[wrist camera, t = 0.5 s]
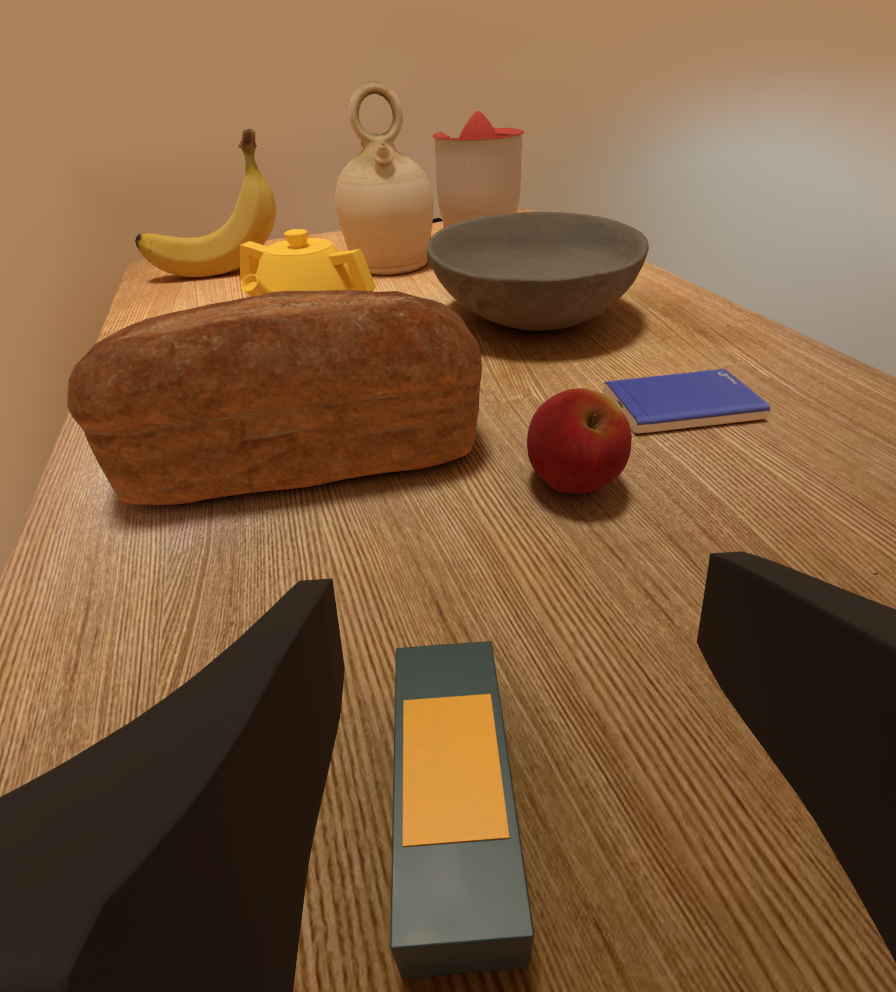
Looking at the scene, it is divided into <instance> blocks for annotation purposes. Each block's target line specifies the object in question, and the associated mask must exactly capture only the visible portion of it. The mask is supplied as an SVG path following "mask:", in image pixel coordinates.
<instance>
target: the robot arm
mask: <svg viewBox="0 0 896 992" xmlns="http://www.w3.org/2000/svg"><path fill="white" fill-rule="evenodd" d="M697 644H698V646H699V648H700V650H701V652H702V654H703V656H704V658H705V660H706V662H707V664H708V666H709V668H710V670H711V671H712V673H713V675H714V677H715V679H716V680H717V682H718V684H719V686H720V688H721V689H722V691H723V692H724V694H725V695H726V696H727V698H728V699H729V701H730V702H731V704H732V705H733V706H734V708H735V709H736V711H737V712H738V713H739V715H740V716H741V718H742V719H743V720H744V722H745V723H746V725H747V726H748V727H749V729H750V730H751V732H752V733H753V734H754V736H755V737H756V738H757V740H758V741H759V742H760V744H761V745H762V747H763V748H764V749H765V751H766V752H767V753H768V755H769V756H770V758H771V759H772V760H773V762H774V763H775V764H776V766H777V767H778V769H779V770H780V771H781V773H782V774H783V775H784V777H785V778H786V780H787V781H788V782H789V784H790V785H791V786H792V788H793V789H794V791H795V792H796V793H797V795H798V796H799V798H800V799H801V801H802V802H803V804H804V805H805V807H806V808H807V810H808V811H809V813H810V814H811V816H812V817H813V819H814V820H815V822H816V823H817V825H818V827H819V828H820V830H821V832H822V833H823V835H824V837H825V838H826V840H827V842H828V843H829V845H830V847H831V849H832V850H833V852H834V854H835V855H836V857H837V859H838V860H839V862H840V864H841V865H842V867H843V869H844V871H845V872H846V874H847V876H848V877H849V879H850V881H851V882H852V884H853V886H854V888H855V890H856V891H857V893H858V895H859V897H860V899H861V900H862V902H863V904H864V906H865V908H866V909H867V911H868V913H869V915H870V917H871V918H872V920H873V922H874V924H875V926H876V927H877V929H878V931H879V933H880V935H881V936H882V938H883V940H884V942H885V944H886V945H887V947H888V949H889V951H890V953H891V955H892V957H893V959H894V960H895V962H896V609H893V608H890V607H888V606H885V605H882V604H880V603H877V602H875V601H872V600H869V599H867V598H864V597H862V596H859V595H857V594H854V593H851V592H849V591H846V590H844V589H841V588H839V587H836V586H834V585H831V584H829V583H826V582H824V581H822V580H819V579H817V578H814V577H812V576H809V575H807V574H804V573H802V572H799V571H797V570H794V569H792V568H789V567H786V566H784V565H781V564H778V563H776V562H773V561H770V560H768V559H765V558H762V557H759V556H756V555H753V554H749V553H745V552H727V553H711V554H710V559H709V566H708V572H707V579H706V585H705V592H704V598H703V605H702V612H701V618H700V625H699V631H698V638H697ZM344 669H345V667H344V660H343V653H342V645H341V638H340V631H339V623H338V616H337V609H336V601H335V594H334V587H333V579H319V580H304V581H299V582H298V583H297V584H295V585H294V586H293V587H292V588H291V589H290V590H289V591H288V592H287V593H286V594H285V595H284V596H283V597H282V598H281V599H280V600H279V601H278V602H277V603H276V604H275V605H274V606H273V607H272V608H271V609H269V610H268V611H267V612H266V613H265V614H264V615H263V616H262V617H261V618H260V619H259V620H258V621H257V622H256V623H255V624H254V625H253V626H252V627H250V628H249V629H248V630H247V631H246V632H245V633H244V634H243V635H242V636H241V637H240V638H239V639H238V640H236V641H235V642H234V643H233V644H232V645H231V646H229V647H228V648H227V649H226V650H225V651H224V652H222V653H221V654H220V655H219V656H218V657H216V658H215V659H214V660H213V661H212V662H211V663H209V664H208V665H207V666H206V667H205V668H203V669H202V670H201V671H200V672H199V673H198V674H196V675H195V676H194V677H193V678H191V679H190V680H189V681H187V682H186V683H185V684H184V685H182V686H181V687H180V688H178V689H177V690H176V691H174V692H173V693H172V694H170V695H169V696H167V697H166V698H165V699H163V700H162V701H160V702H159V703H157V704H156V705H155V706H153V707H152V708H150V709H149V710H148V711H146V712H145V713H143V714H142V715H140V716H139V717H137V718H136V719H134V720H133V721H131V722H130V723H128V724H127V725H125V726H123V727H122V728H120V729H119V730H117V731H115V732H114V733H112V734H110V735H109V736H107V737H106V738H104V739H102V740H101V741H99V742H97V743H96V744H94V745H92V746H91V747H89V748H88V749H86V750H84V751H83V752H81V753H79V754H78V755H76V756H75V757H73V758H71V759H70V760H68V761H66V762H65V763H63V764H61V765H59V766H58V767H56V768H54V769H52V770H50V771H48V772H47V773H45V774H43V775H41V776H39V777H38V778H36V779H34V780H32V781H30V782H28V783H27V784H25V785H23V786H21V787H19V788H17V789H15V790H13V791H11V792H10V793H8V794H6V795H4V796H2V797H0V992H293V987H294V978H295V970H296V961H297V952H298V944H299V935H300V927H301V919H302V911H303V903H304V896H305V888H306V880H307V872H308V865H309V859H310V854H311V848H312V843H313V837H314V832H315V828H316V824H317V819H318V815H319V810H320V806H321V801H322V797H323V792H324V788H325V783H326V779H327V774H328V770H329V766H330V761H331V757H332V752H333V748H334V743H335V738H336V734H337V729H338V724H339V720H340V713H341V703H342V693H343V681H344Z"/></svg>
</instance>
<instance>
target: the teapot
mask: <svg viewBox="0 0 896 992" xmlns="http://www.w3.org/2000/svg"><path fill="white" fill-rule="evenodd" d="M284 235H285V237H286V239H287V240H285V241H281V242H277V243H274V244H272V245H270V246H268V247H267V246H264V245H261V244H258V243H255V242H252V241H248V242H246V243H243V244H240V279H241V280H242V282H241V288H242V290H243V291H244V292H245V293H247V294H248V295H249V296H250V297H252V296H256V295H261V294H265V293H270V292H279V291H327V290H360V291H371V292H372V291H373V290H374V289H375V288H376V286H375V283H374V281H373V278H372V276H371V273H370V271H369V268H368V265H367V263H366V260H365V258H364V255H363V253H362V250H361V249H357V250H351V251H344V252H340V251H339V250H338V249H337V248H336V247H335V246H334V245H333V243H331V242H330V241H328V240H325V239H320V238H307V236H308V231H307V230H304V229H294V230H289V231H287V232H285V233H284ZM259 260H260V263H259Z"/></svg>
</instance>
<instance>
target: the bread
mask: <svg viewBox="0 0 896 992" xmlns="http://www.w3.org/2000/svg"><path fill="white" fill-rule="evenodd" d="M481 372H482V365H481V352H480V347H479V344H478V342H477V341H476V339H475V338H474V336H473V335H472V333H471V332H470V330H469V329H468V327H467V326H466V324H465V323H464V321H463V320H462V318H461V317H460V316H459V315H458V314H457V313H455V312H454V311H452V310H451V309H449V308H448V307H447V306H445V305H444V304H441V303H439V302H436V301H433V300H429V299H424V298H420V297H416V296H412V295H409V294H405V293H401V292H398V291H391V292H371V291H360V290H327V291H279V292H270V293H265V294H261V295H256V296H252V297H247V298H242V299H237V300H233V301H227V302H221V303H216V304H210V305H206V306H201V307H197V308H193V309H188V310H183V311H178V312H173V313H168V314H164V315H161V316H157V317H153V318H149V319H145V320H143V321H140V322H137V323H135V324H132V325H130V326H127V327H126V328H124V329H122V330H120V331H118V332H116V333H114V334H112V335H110V336H108V337H107V338H105V339H103V340H102V341H100V342H98V343H96V344H95V345H94V346H93V347H92V348H91V349H90V351H89V352H88V353H87V354H86V355H85V356H84V357H83V358H82V359H81V360H80V361H79V362H78V363H77V364H76V365H75V367H74V369H73V371H72V373H71V376H70V379H69V386H68V409H69V411H70V413H71V415H72V417H73V418H74V419H75V420H76V422H77V423H78V424H79V425H80V426H81V427H82V429H83V430H84V432H85V435H86V438H87V440H88V442H89V445H90V447H91V449H92V451H93V453H94V455H95V457H96V459H97V461H98V463H99V465H100V467H101V468H102V470H103V472H104V473H105V475H106V477H107V479H108V480H109V482H110V484H111V486H112V488H113V489H114V491H115V492H116V494H117V496H118V497H119V499H120V500H121V502H125V503H130V504H137V505H174V504H186V503H192V502H197V501H202V500H206V499H212V498H219V497H225V496H232V495H239V494H246V493H254V492H263V491H271V490H283V489H294V488H302V487H309V486H315V485H319V484H324V483H329V482H334V481H338V480H343V479H348V478H354V477H360V476H366V475H373V474H380V473H387V472H396V471H406V470H416V469H423V468H427V467H432V466H436V465H440V464H443V463H446V462H449V461H452V460H455V459H458V458H460V457H463V456H465V455H466V454H468V453H469V452H470V451H471V449H472V446H473V443H474V439H475V431H476V424H477V418H478V412H479V389H480V380H481Z"/></svg>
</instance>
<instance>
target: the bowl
mask: <svg viewBox="0 0 896 992" xmlns="http://www.w3.org/2000/svg"><path fill="white" fill-rule="evenodd" d="M648 249H649V246H648V241H647V239H646V237H645V236H644V235H643V234H642V233H641V232H639V231H638V230H636V229H634V228H632V227H630V226H628V225H626V224H623V223H620V222H617V221H614V220H610V219H607V218H602V217H597V216H591V215H584V214H583V215H582V214H574V213H561V212H560V213H559V212H524V213H512V214H500V215H491V216H485V217H480V218H475V219H471V220H467V221H463V222H459V223H456V224H453V225H450V226H448V227H446V228H443V229H441V230H440V231H438V232H437V233H435V234H434V235H433V236H432V237H431V238H430V240H429V241H428V243H427V256H428V259H429V262H430V264H431V267H432V269H433V270H434V272H435V274H436V276H437V278H438V279H439V281H440V282H441V284H442V285H443V286H444V287H445V289H446V290H447V291H448V292H449V293H450V294H451V295H452V296H453V297H454V298H455V299H456V300H457V301H458V302H459V303H461V304H462V305H463V306H464V307H466V308H467V309H469V310H471V311H472V312H474V313H475V314H477V315H479V316H481V317H483V318H484V319H486V320H489V321H491V322H494V323H497V324H500V325H503V326H507V327H511V328H517V329H523V330H532V331H545V330H556V329H562V328H567V327H571V326H575V325H577V324H580V323H583V322H585V321H587V320H589V319H591V318H593V317H595V316H596V315H598V314H599V313H601V312H603V311H604V310H606V309H607V308H608V307H610V306H611V305H612V304H613V303H615V302H616V301H617V300H618V299H619V298H620V297H621V296H622V295H623V294H624V293H625V292H626V291H627V290H628V289H629V287H630V286H631V285H632V284H633V282H634V281H635V279H636V277H637V276H638V274H639V272H640V270H641V268H642V266H643V263H644V261H645V258H646V256H647V253H648Z"/></svg>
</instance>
